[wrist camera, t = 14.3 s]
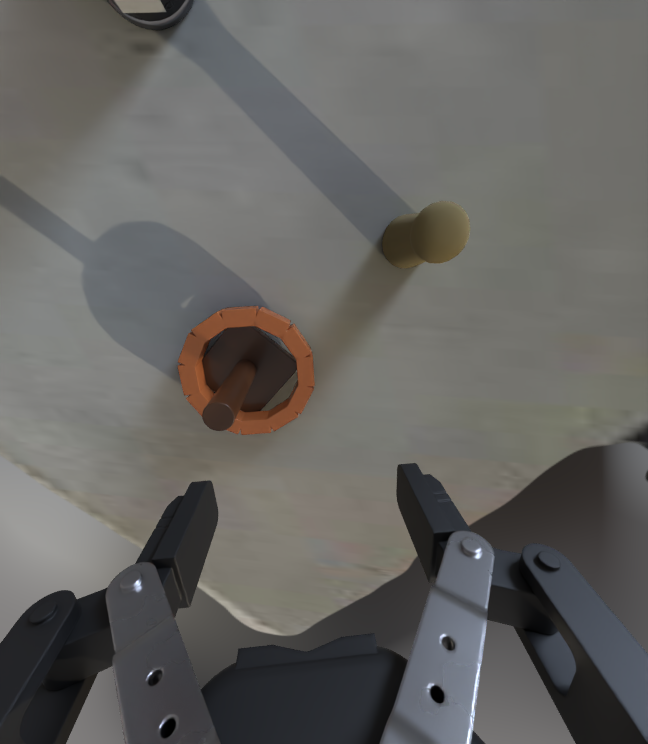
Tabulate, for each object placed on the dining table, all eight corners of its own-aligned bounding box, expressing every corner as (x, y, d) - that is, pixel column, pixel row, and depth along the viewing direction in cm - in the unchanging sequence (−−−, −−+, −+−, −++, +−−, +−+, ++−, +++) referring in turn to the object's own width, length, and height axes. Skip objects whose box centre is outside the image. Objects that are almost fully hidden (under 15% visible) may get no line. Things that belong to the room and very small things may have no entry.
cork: (383, 271, 37) (413, 271, 27) (380, 217, 35) (413, 195, 25) (431, 265, 37) (480, 264, 27) (431, 211, 35) (484, 187, 25)
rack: (194, 370, 40) (136, 424, 26) (239, 313, 38) (202, 338, 24) (255, 413, 42) (231, 482, 29) (300, 362, 40) (298, 410, 27)
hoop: (170, 396, 39) (161, 404, 37) (213, 282, 35) (206, 283, 33) (282, 440, 42) (281, 451, 40) (334, 341, 38) (336, 346, 36)
